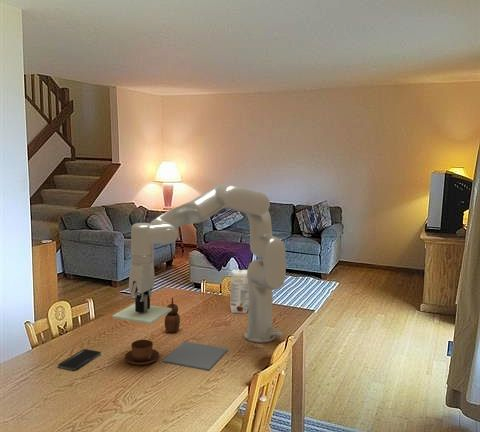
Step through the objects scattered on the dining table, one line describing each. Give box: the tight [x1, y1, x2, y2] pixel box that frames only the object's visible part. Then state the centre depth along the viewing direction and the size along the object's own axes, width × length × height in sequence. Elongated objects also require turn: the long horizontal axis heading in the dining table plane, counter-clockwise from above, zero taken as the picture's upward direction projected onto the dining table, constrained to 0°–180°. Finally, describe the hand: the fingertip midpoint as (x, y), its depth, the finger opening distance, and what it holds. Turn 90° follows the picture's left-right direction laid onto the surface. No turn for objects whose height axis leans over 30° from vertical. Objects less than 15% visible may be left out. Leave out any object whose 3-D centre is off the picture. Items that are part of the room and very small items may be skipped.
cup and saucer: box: [124, 339, 160, 366], centre depth 173 cm, size 12×12×6 cm
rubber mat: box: [161, 341, 229, 372], centre depth 177 cm, size 18×18×1 cm
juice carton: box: [229, 269, 249, 314], centre depth 225 cm, size 8×9×19 cm
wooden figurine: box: [164, 296, 181, 333], centre depth 199 cm, size 7×6×15 cm
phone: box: [57, 348, 102, 372], centre depth 171 cm, size 8×1×15 cm
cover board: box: [111, 294, 172, 325], centre depth 170 cm, size 15×15×7 cm
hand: (142, 309), depth 171 cm, fingers closed on cover board, 3 cm apart
